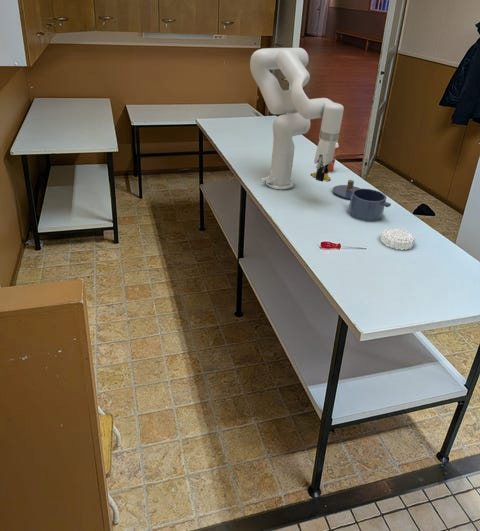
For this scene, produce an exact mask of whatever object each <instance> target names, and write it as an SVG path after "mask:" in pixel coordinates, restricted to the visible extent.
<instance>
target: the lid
mask: <svg viewBox="0 0 480 531" xmlns="http://www.w3.org/2000/svg"><path fill="white" fill-rule="evenodd" d="M354 183H355V181H354V180H353V179H348V180H347V184H339V185H338V184H337V185H335V186H333V187H332V193H333V194H334V195H336V196H338V197H341V198H344V199H347V200H351V195H352V194H351V193H349V192H347V191H348V190H349V189H353V190H356V189H362V188H361V187H357V186H354V185H355V184H354Z"/></svg>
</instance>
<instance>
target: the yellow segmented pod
mask: <svg viewBox="0 0 480 531" xmlns="http://www.w3.org/2000/svg"><path fill="white" fill-rule="evenodd" d="M316 174H317V171H316V172H312V173H310V175H309V176H311V177H312V178H313V179H316ZM323 182H327V183H328V182H329V183H330V182H331V177H330V176H329V173H328V174H326V173H325V174H324V180H323Z"/></svg>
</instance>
